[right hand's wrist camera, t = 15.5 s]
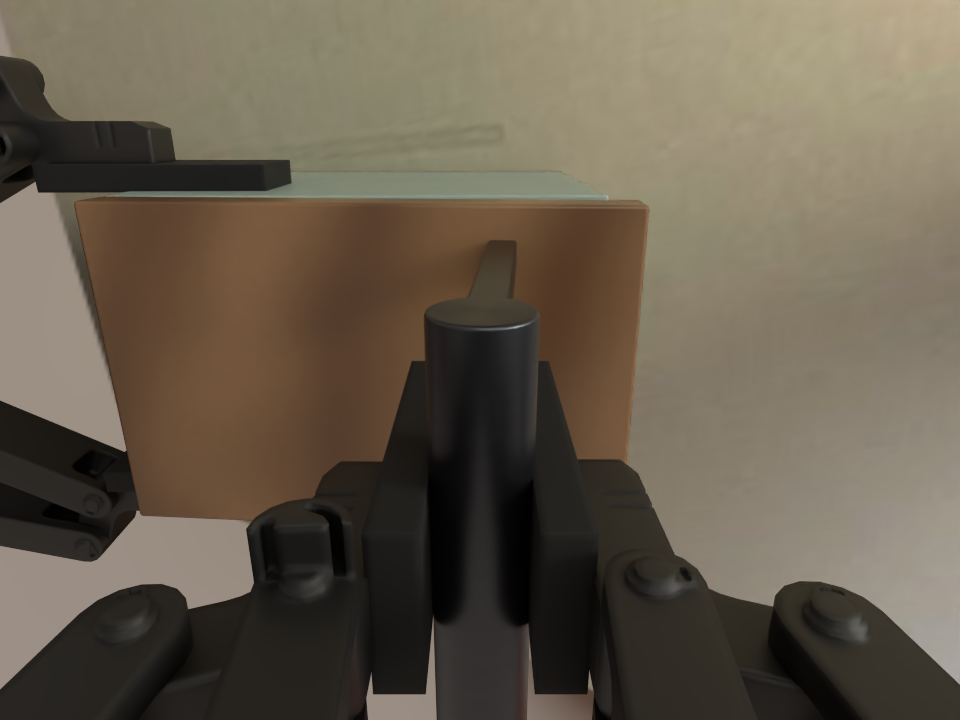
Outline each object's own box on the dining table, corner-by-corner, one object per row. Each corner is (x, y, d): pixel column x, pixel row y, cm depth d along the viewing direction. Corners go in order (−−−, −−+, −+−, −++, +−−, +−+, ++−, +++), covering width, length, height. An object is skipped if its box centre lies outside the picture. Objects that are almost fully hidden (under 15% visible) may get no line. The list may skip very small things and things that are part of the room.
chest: (562, 171, 26) (609, 195, 17) (553, 378, 29) (589, 491, 20) (231, 171, 26) (102, 195, 17) (258, 379, 29) (161, 493, 20)
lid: (641, 199, 16) (761, 279, 8) (615, 512, 19) (679, 809, 11) (103, 196, 17) (-307, 262, 9) (162, 493, 20) (-97, 751, 12)
